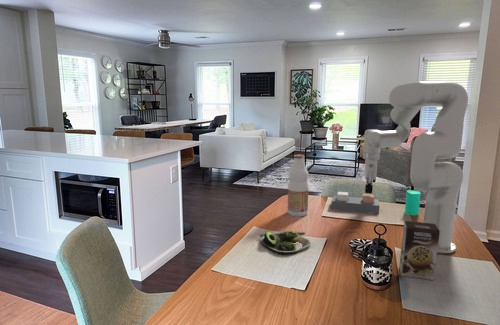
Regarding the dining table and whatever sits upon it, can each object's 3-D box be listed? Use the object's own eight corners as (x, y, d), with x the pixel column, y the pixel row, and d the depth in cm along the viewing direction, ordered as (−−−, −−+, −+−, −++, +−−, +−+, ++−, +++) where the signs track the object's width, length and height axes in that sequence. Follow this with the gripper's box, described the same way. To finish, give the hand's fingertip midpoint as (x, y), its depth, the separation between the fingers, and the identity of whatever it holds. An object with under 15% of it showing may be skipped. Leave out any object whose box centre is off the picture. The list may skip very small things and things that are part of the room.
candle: (401, 212, 160) (404, 187, 157) (410, 210, 162) (413, 186, 160) (412, 216, 154) (415, 191, 152) (421, 214, 157) (424, 189, 155)
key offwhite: (347, 199, 168) (348, 192, 168) (347, 202, 164) (347, 195, 163) (337, 198, 170) (338, 191, 169) (337, 201, 165) (337, 194, 164)
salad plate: (291, 230, 139) (291, 219, 138) (322, 246, 125) (323, 234, 124) (252, 241, 129) (252, 229, 128) (282, 259, 114) (282, 247, 113)
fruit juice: (291, 217, 152) (292, 157, 147) (284, 211, 161) (285, 153, 156) (310, 216, 154) (312, 156, 149) (303, 209, 163) (304, 153, 158)
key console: (377, 207, 167) (378, 199, 166) (378, 213, 158) (379, 205, 157) (332, 202, 174) (333, 195, 173) (331, 208, 164) (331, 201, 163)
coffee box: (401, 276, 103) (406, 227, 100) (399, 266, 109) (403, 219, 106) (434, 281, 100) (440, 230, 97) (430, 270, 106) (435, 222, 103)
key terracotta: (373, 201, 165) (373, 194, 164) (373, 204, 160) (374, 197, 159) (362, 200, 166) (363, 193, 165) (362, 203, 161) (363, 196, 161)
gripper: (380, 159, 150) (377, 198, 154) (378, 153, 164) (376, 189, 168) (363, 158, 153) (360, 196, 156) (362, 152, 167) (360, 188, 170)
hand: (368, 192), depth 162 cm, fingers closed
